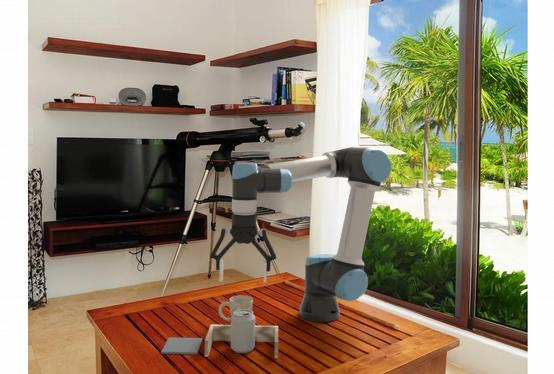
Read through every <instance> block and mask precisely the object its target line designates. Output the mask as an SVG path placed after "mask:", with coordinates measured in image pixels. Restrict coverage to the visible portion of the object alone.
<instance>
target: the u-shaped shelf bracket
mask: <svg viewBox="0 0 554 374" xmlns="http://www.w3.org/2000/svg"><path fill="white" fill-rule="evenodd" d="M255 341H257V342H259V343H260V342H262V343H267V342H268V343H274V359H279V326H278V325H256V324H255ZM213 342H231V324H210V326H209V328H208V331H207V334H206V336H205V339H204V358H205V357H209V355H210V352H211V350H212V349H211V348H212V346H213ZM257 342H256V343H257Z"/></svg>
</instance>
